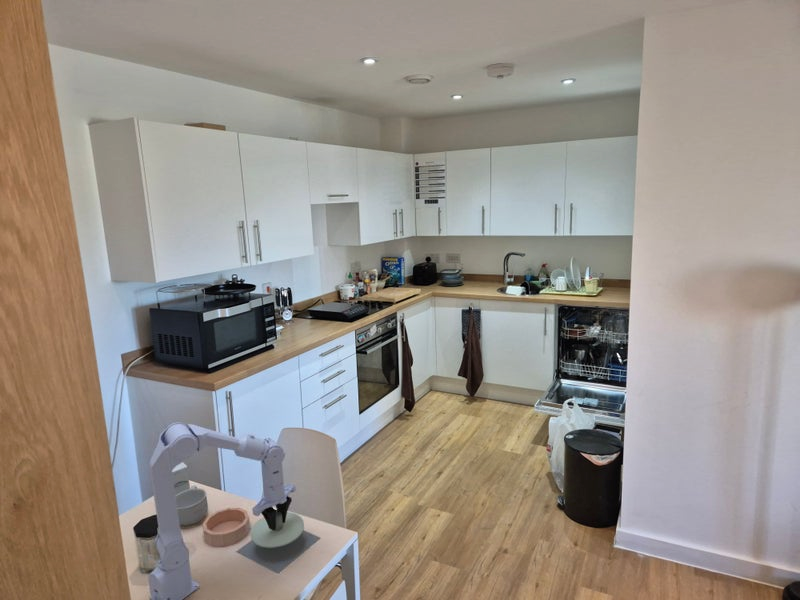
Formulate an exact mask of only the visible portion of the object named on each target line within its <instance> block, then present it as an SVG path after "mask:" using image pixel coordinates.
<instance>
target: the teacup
mask: <svg viewBox="0 0 800 600" xmlns="http://www.w3.org/2000/svg"><path fill="white" fill-rule="evenodd" d="M175 496H176V503H177V510H178V518H179V525H180V526H187V527H189V526H194V525H196V524H197V523H199V522H200V521H202V520H203V518H205V516H206V515H207V513H208V510H209V503H208V499H207V498H208V497H207V491H206V490H205V489H204V488H200V487H198V486H197V485H192V486H190V489H188V490H185V491H182V492H180V493H178V494H177V495H175Z"/></svg>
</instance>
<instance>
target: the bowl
mask: <svg viewBox="0 0 800 600" xmlns="http://www.w3.org/2000/svg"><path fill="white" fill-rule="evenodd" d="M202 531H203V539H204V542H205V544H207V545H209V546H211V547H215V548H216V547H217V548H220V547H228V546H231V545H234V544H237V543H239V542H240V541H242V540H243V539H244V538H246V537H247V535H248V534H249V532H250V531H251V522H250V516H249V513H248V511H247V510H245V509H243V508H241V507H226V508H223V509H219V510H217V511H215V512H213V513H211V514H210V515H208V516H207V517H206V518H205V519H204V521H203V522H202Z"/></svg>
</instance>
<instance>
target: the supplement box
mask: <svg viewBox="0 0 800 600" xmlns="http://www.w3.org/2000/svg"><path fill="white" fill-rule="evenodd" d="M172 474H173V482H174V489H175V495H177V494H178V493H180V492H182V491H185V490H188V489H191V486H190V478H189V470H188V466H187V464H186V463H185V462H184V461H183V462H182V463H180V464H179V465H177V466H176V467H175V468H174V469H173V470H172Z"/></svg>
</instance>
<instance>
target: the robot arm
mask: <svg viewBox="0 0 800 600" xmlns="http://www.w3.org/2000/svg"><path fill="white" fill-rule="evenodd" d="M156 444H157V445H156V447H155V449H154V452H153V454H152V455H151V458H150V460H149V466H148V467H149V472H150V478H151V479H150V480H151V485H152V492H153V498H154V506H155V513H156V519H157V526H158V527H157V529H156V530H157V535H156V538H155V543H154V544H155V547H156V549H157V551H158V554H159V557H158V561H157V566H156V567H155V568H154V569H153V570H152V571H151V572H150V573H149V574H148V579H147V580H148V586H149V593H150V596H149V600H184V599H185V598H186V597H188V596H189V595H191V594H192V593H193V592H195V591H196V590H198V589H199V588H200V583H198V582H196V581H195V580H193V579H192V571H191V562H190V550H189V548H188V547H187V545H186V543H185V541H184V538H183V534H182V531H181V524H179V518H178V510H177V503H176V496H175V489H174V482H173V474H172V470H173V469H174V468H175V467H176V466H177V465H179V464H180V463H182V462H183V463H184V461H186V460H188V459H189V458H190V457H192V456H193V455H194V454H195V453H196V452H198V453H200V452H202V451H203V450H204V449H205V448H207V447H213V448H219V449H224V450H230V451H234V453H235V456H237V457H240V458H243V459H249V460H252V461H253V460H254V461H257V462H259V461H260V463H261V476H262V477H261V478H262V488H263V489H262V490H263V497H262V498H261V499H260V500H259V501H258V502H257V504H256V505H255V506H253V507H252V508H251V509H252V515H253V516H255V517H259V516H260V515H262V516H263V517H264V518H265V520H266V522H267V524H268V527H269V529H271V530H275V529H276V513H277V512H280V513H282V521H283V523H285V520H286V515H287V512H289V508H290V505H291V503H292V501H293V500H292V497H290V496H289V495H290V493H295V492H296V490H297V489H296V485H295V484H293V483H289V484H287V485H285V483H284V468H283V461H284V459H285V457H286V452H285V451H284V449H283V447H281V446H280V444H278V443H277V442H276V441H275V440H274V439H271V438H269V437H267V438H264V439H262V438H259V437H255V435H254V434H253V433H248V435H247V434H241V435H240V436H238V437H236V436H232V435H229V434H225V433H223V432H219V431H216V430H213V429H209V428H206V427H202V426H199V425H196V424H193V423H187V424H186V423H184V422H181V421H180V422H173V423H171V424H170V425H168V426H167V427H166V428H165V429H164V430H163V431H162V432H161V433H160V434H159V438H158V443H156ZM274 506H275V508H276V509H275V508H274Z"/></svg>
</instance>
